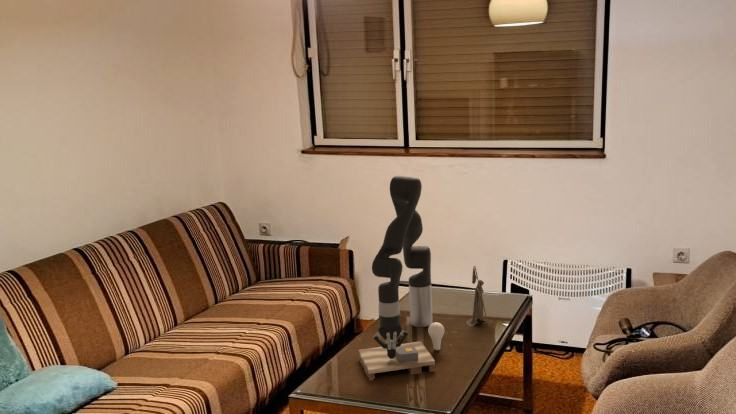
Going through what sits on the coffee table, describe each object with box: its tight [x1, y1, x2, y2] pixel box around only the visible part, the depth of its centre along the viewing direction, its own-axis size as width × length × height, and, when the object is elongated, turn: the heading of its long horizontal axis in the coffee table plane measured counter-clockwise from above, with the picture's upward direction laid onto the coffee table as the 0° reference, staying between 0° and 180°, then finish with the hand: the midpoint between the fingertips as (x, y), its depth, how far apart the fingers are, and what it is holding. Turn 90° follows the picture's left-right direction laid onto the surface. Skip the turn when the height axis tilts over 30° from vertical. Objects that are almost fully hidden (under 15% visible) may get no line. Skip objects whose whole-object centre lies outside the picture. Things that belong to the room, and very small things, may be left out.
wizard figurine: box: [466, 265, 489, 327], centre depth 293 cm, size 10×8×25 cm
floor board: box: [358, 340, 436, 381], centre depth 260 cm, size 18×24×4 cm
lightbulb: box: [427, 321, 445, 351], centre depth 270 cm, size 6×6×11 cm
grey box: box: [395, 346, 418, 363], centre depth 256 cm, size 6×7×3 cm
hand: (391, 357), depth 255 cm, fingers closed
